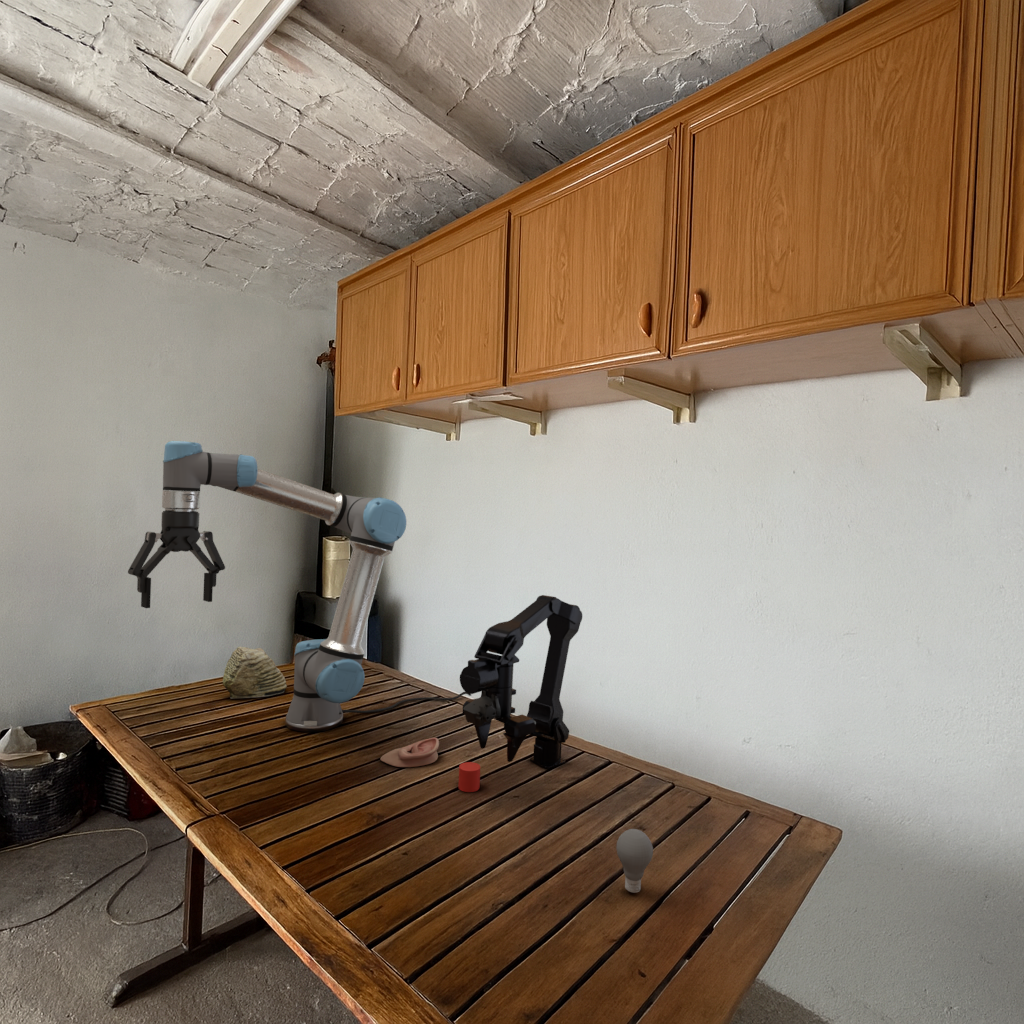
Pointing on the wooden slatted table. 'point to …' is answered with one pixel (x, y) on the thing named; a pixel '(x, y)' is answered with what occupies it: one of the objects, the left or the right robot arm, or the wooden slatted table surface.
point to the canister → (469, 777)
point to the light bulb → (634, 857)
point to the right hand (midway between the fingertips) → (496, 754)
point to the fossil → (252, 674)
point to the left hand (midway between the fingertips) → (177, 604)
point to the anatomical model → (413, 754)
